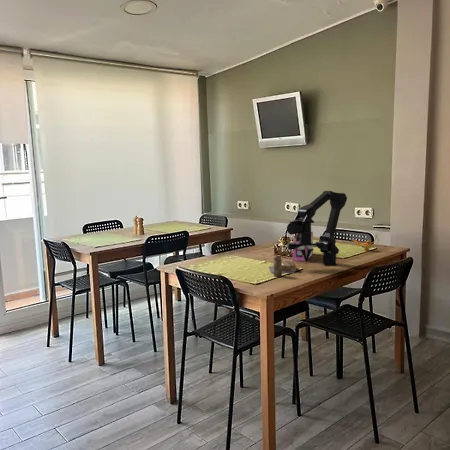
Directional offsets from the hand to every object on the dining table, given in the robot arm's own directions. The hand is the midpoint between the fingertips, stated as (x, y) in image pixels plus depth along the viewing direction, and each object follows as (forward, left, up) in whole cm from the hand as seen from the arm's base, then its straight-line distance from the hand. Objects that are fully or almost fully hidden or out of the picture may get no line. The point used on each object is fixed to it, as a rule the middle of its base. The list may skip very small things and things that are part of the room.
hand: (306, 261), depth 234 cm
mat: (+13, 0, -4) cm, 13 cm away
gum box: (-3, -30, -4) cm, 30 cm away
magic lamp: (-42, -43, -4) cm, 60 cm away
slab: (+6, 0, -2) cm, 6 cm away
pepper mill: (+16, +12, -4) cm, 20 cm away
